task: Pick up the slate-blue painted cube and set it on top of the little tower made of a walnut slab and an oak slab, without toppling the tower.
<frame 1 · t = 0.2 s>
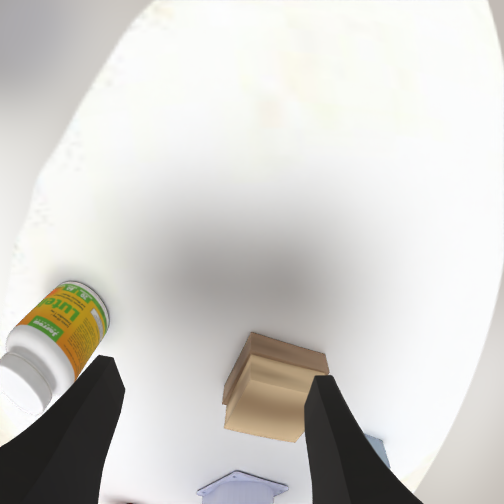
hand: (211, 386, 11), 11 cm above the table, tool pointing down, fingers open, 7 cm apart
supplement bottle: (82, 309, 22), on the table
oak slab: (274, 390, 22), point 2 cm above the table, touching walnut slab
walnut slab: (272, 368, 24), on the table, touching oak slab
slate blue cube: (357, 445, 28), on the table
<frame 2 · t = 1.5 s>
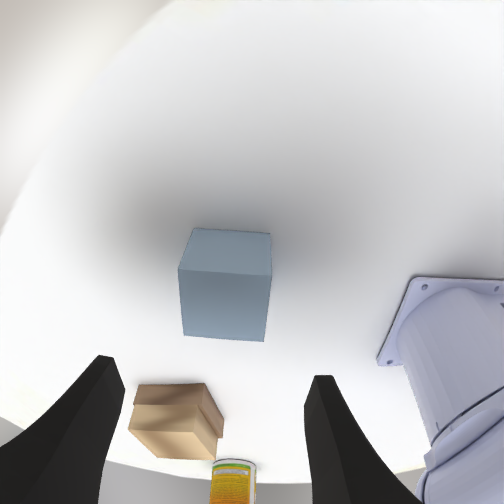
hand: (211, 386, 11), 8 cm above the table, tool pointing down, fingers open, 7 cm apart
supplement bottle: (234, 464, 33), on the table
oak slab: (177, 421, 23), point 2 cm above the table, touching walnut slab
walnut slab: (183, 400, 26), on the table, touching oak slab
slate blue cube: (230, 262, 18), on the table
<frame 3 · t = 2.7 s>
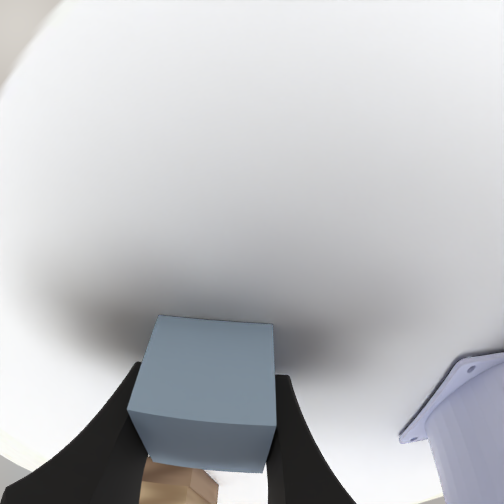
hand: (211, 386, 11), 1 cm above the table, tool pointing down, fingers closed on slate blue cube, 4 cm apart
oak slab: (166, 493, 17), point 2 cm above the table, touching walnut slab
walnut slab: (171, 468, 20), on the table, touching oak slab
slate blue cube: (215, 357, 12), on the table, touching gripper
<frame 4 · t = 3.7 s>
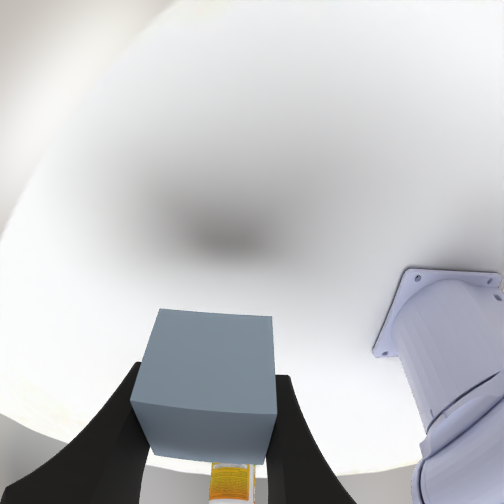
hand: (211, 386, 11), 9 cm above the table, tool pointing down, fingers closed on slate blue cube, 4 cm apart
supplement bottle: (233, 458, 34), on the table
slate blue cube: (215, 350, 12), point 7 cm above the table, touching gripper
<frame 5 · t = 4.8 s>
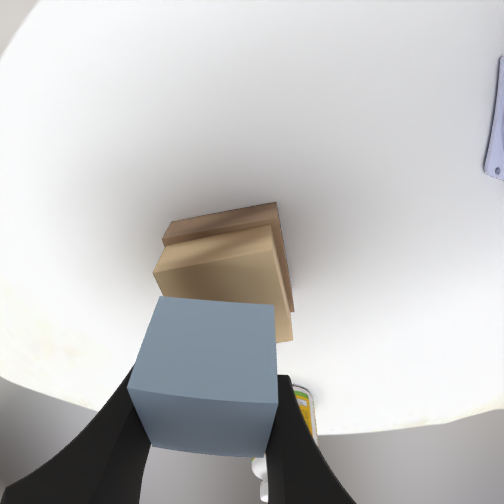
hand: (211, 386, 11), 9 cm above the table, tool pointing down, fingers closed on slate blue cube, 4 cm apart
supplement bottle: (282, 398, 27), on the table
oak slab: (230, 279, 17), point 2 cm above the table, touching walnut slab
walnut slab: (234, 254, 19), on the table, touching oak slab
slate blue cube: (216, 340, 12), point 8 cm above the table, touching gripper
when the fingers open (7 cm above the table, at t = 5.7 s): slate blue cube stays where it is, resting on oak slab.
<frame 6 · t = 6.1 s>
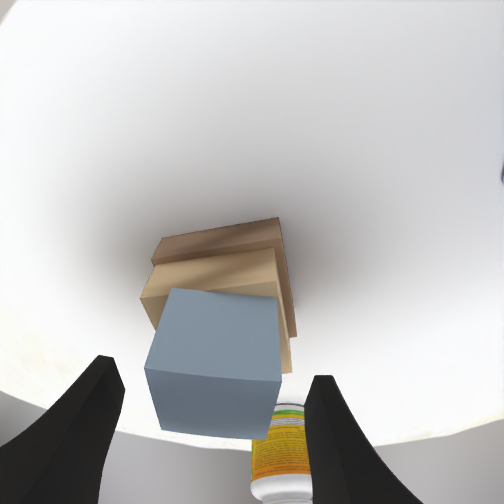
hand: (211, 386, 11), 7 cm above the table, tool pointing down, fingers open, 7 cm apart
supplement bottle: (283, 416, 25), on the table
oak slab: (226, 303, 15), point 2 cm above the table, touching slate blue cube, walnut slab
walnut slab: (232, 273, 18), on the table, touching oak slab
slate blue cube: (222, 330, 13), point 5 cm above the table, touching oak slab
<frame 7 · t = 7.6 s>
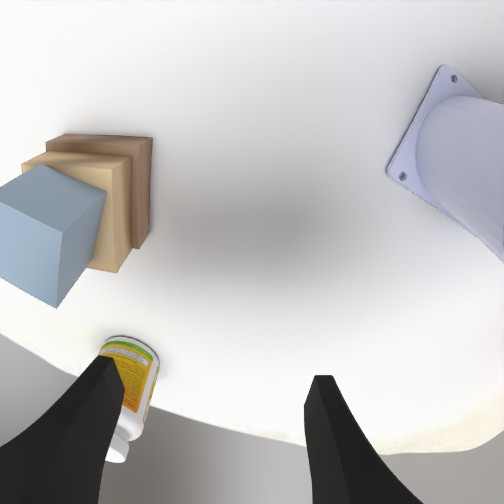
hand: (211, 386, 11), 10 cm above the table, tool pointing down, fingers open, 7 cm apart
supplement bottle: (131, 354, 26), on the table
oak slab: (87, 199, 16), point 2 cm above the table, touching walnut slab
walnut slab: (107, 180, 18), on the table, touching oak slab
slate blue cube: (65, 212, 14), point 5 cm above the table
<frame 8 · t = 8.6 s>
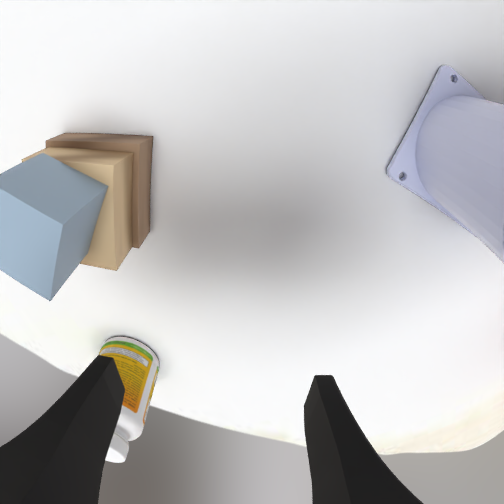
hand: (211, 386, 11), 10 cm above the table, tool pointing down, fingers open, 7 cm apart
supplement bottle: (131, 354, 26), on the table
oak slab: (88, 196, 16), point 2 cm above the table, touching slate blue cube, walnut slab
walnut slab: (107, 179, 18), on the table, touching oak slab
slate blue cube: (64, 204, 13), point 5 cm above the table, touching oak slab
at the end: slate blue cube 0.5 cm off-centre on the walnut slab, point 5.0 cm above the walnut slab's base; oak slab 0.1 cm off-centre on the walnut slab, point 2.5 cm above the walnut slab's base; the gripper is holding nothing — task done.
